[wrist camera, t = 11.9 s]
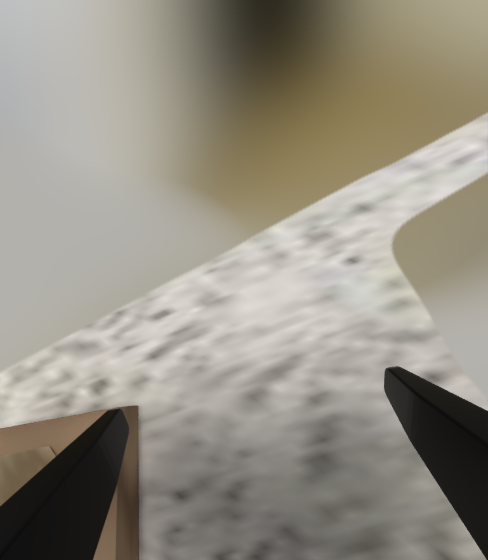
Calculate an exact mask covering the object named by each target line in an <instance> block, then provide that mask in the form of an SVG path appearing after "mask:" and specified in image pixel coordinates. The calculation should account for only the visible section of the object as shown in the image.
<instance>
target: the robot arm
mask: <svg viewBox="0 0 488 560" xmlns="http://www.w3.org/2000/svg"><path fill="white" fill-rule="evenodd" d="M384 390H385V393H386V395H387V397H388V399H389V401H390V403H391V405H392V407H393V409H394V411H395V413H396V415H397V417H398V419H399V421H400V422H401V424H402V426H403V428H404V430H405V432H406V434H407V436H408V438H409V439H410V441H411V443H412V444H413V446H414V448H415V449H416V451H417V452H418V454H419V455H420V457H421V458H422V460H423V462H424V463H425V465H426V466H427V468H428V469H429V471H430V472H431V474H432V475H433V477H434V479H435V480H436V482H437V483H438V485H439V486H440V488H441V489H442V491H443V492H444V494H445V496H446V497H447V499H448V500H449V502H450V503H451V505H452V506H453V508H454V510H455V511H456V513H457V514H458V516H459V517H460V519H461V520H462V522H463V523H464V525H465V527H466V528H467V530H468V531H469V533H470V534H471V536H472V537H473V539H474V540H475V542H476V544H477V545H478V547H479V548H480V550H481V551H482V553H483V554H484V556H485V558H486V559H487V560H488V411H487V410H485V409H483V408H481V407H479V406H477V405H475V404H473V403H471V402H469V401H467V400H465V399H463V398H461V397H459V396H457V395H455V394H453V393H451V392H449V391H447V390H445V389H443V388H441V387H439V386H437V385H435V384H433V383H431V382H429V381H427V380H425V379H423V378H421V377H419V376H417V375H415V374H413V373H411V372H409V371H407V370H405V369H403V368H401V367H398V366H395V367H389V368H386V369H385V377H384ZM128 436H129V424H128V422H127V419H126V417H125V414H124V412H123V410H122V409H121V408H116V409H110V410H108V411H106V412H105V413H104V414H103V415H102V416H101V417H100V418H98V419H97V420H96V421H95V422H94V423H93V424H92V425H91V426H89V427H88V428H87V429H86V430H85V431H84V432H83V433H82V434H80V435H79V436H78V437H77V438H76V439H75V440H74V441H73V442H72V443H70V444H69V445H68V446H67V447H66V448H65V449H64V450H63V451H61V452H60V453H59V454H58V455H57V456H56V457H55V458H54V459H52V460H51V461H50V462H49V463H48V464H47V465H46V466H45V467H43V468H42V469H41V470H40V471H39V472H38V473H37V474H36V475H34V476H33V477H32V478H31V479H30V480H29V481H28V482H27V483H25V484H24V485H23V486H22V487H21V488H20V489H19V490H18V491H16V492H15V493H14V494H13V495H12V496H11V497H10V498H9V499H7V500H6V501H5V502H4V503H3V504H2V505H1V506H0V560H93V558H94V555H95V552H96V549H97V546H98V543H99V540H100V537H101V534H102V530H103V527H104V524H105V521H106V518H107V515H108V512H109V509H110V506H111V503H112V499H113V496H114V493H115V490H116V487H117V483H118V480H119V476H120V471H121V467H122V462H123V458H124V453H125V449H126V445H127V440H128Z"/></svg>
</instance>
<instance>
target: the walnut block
mask: <svg viewBox="0 0 488 560" xmlns="http://www.w3.org/2000/svg"><path fill="white" fill-rule="evenodd" d="M118 408H121V409H122V410H123V412H124V414H125V417H126V419H127V422H128V424H129V436H128V440H127V445H126V449H125V453H124V458H123V462H122V467H121V471H120V476H119V480H118V483H117V487H116V490H115V493H114V496H113V499H112V503H111V506H110V509H109V512H108V515H107V518H106V521H105V524H104V527H103V530H102V534H101V537H100V540H99V543H98V546H97V549H96V552H95V555H94V558H93V560H139V502H138V406H127V407H118ZM112 409H116V408H112ZM108 410H110V409H107V410H101V411H96V412H90V413H85V414H79V415H73V416H68V417H62V418H57V419H51V420H46V421H40V422H35V423H29V424H23V425H18V426H12V427H7V428H1V429H0V456H4V455H9V454H14V453H18V452H23V451H28V450H32V449H37V448H41V447H46V446H50V448H51V449H52V451H53V452H54V454H55V455H56V456H57V455H58V454H59V453H60V452H61V451H63V450H64V449H65V448H66V447H67V446H68V445H69V444H70V443H72V442H73V441H74V440H75V439H76V438H77V437H78V436H79V435H80V434H82V433H83V432H84V431H85V430H86V429H87V428H88V427H89V426H91V425H92V424H93V423H94V422H95V421H96V420H97V419H98V418H100V417H101V416H102V415H103V414H104V413H105V412H106V411H108Z"/></svg>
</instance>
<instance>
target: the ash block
mask: <svg viewBox="0 0 488 560" xmlns="http://www.w3.org/2000/svg"><path fill="white" fill-rule="evenodd" d="M55 457H56V455H55V454H54V452H53V451H52V449H51V448H50V446H46V447H41V448H37V449H32V450H28V451H23V452H18V453H14V454H9V455H4V456H0V506H1V505H2V504H3V503H4V502H5V501H6V500H7V499H9V498H10V497H11V496H12V495H13V494H14V493H15V492H16V491H18V490H19V489H20V488H21V487H22V486H23V485H24V484H25V483H27V482H28V481H29V480H30V479H31V478H32V477H33V476H34V475H36V474H37V473H38V472H39V471H40V470H41V469H42V468H43V467H45V466H46V465H47V464H48V463H49V462H50V461H51V460H52V459H54V458H55Z"/></svg>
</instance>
